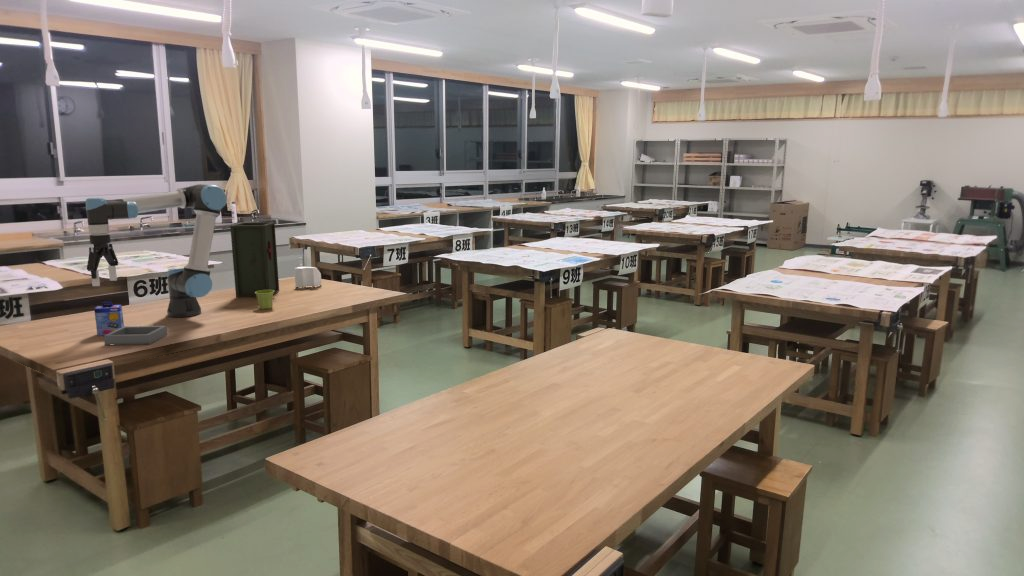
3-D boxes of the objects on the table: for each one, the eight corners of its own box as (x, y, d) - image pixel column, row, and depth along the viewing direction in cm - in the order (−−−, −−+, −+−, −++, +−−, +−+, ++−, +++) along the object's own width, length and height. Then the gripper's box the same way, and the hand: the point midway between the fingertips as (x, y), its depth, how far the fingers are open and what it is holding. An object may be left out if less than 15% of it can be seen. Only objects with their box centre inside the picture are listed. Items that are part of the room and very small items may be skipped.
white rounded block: (295, 288, 400) (294, 268, 398) (306, 284, 410) (304, 265, 408) (311, 288, 397) (310, 268, 395) (321, 285, 408) (320, 266, 405)
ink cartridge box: (96, 336, 290) (92, 303, 287) (99, 333, 295) (95, 300, 292) (122, 333, 293) (119, 301, 290) (124, 331, 298) (121, 299, 295)
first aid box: (247, 291, 390) (241, 222, 382) (279, 290, 391) (274, 222, 383) (236, 297, 371) (230, 225, 364) (269, 297, 372) (264, 225, 365)
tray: (125, 335, 290) (124, 326, 290) (167, 334, 291) (166, 325, 290) (104, 345, 275) (103, 335, 274) (149, 344, 275) (148, 335, 275)
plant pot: (265, 310, 338) (264, 293, 337) (252, 308, 342) (250, 292, 341) (279, 307, 346) (278, 290, 345) (266, 305, 351) (265, 289, 349)
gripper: (106, 231, 298) (111, 278, 302) (73, 237, 273) (79, 288, 277) (123, 231, 298) (128, 278, 302) (92, 237, 274) (98, 288, 278)
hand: (105, 283), depth 290 cm, fingers open, 13 cm apart
